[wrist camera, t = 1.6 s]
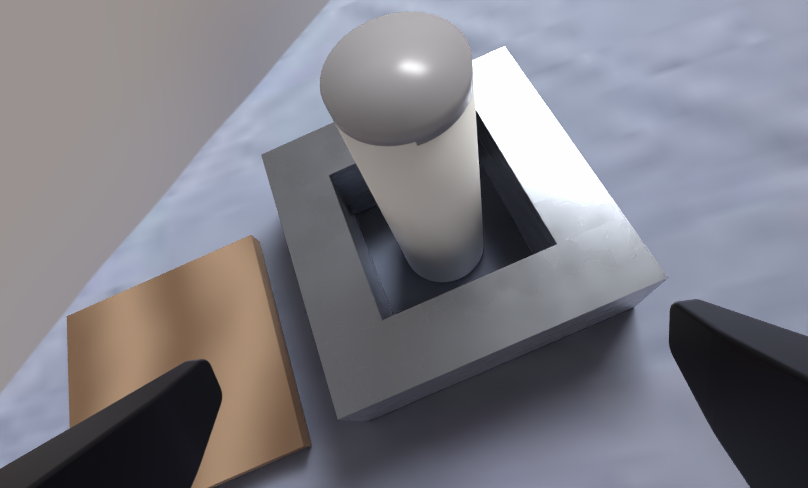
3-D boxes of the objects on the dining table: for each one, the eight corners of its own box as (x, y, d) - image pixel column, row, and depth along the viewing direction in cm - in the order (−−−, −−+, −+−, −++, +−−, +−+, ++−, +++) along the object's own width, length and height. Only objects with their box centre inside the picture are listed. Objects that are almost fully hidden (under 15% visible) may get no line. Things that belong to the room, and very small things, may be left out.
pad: (90, 540, 22) (73, 545, 21) (81, 320, 27) (66, 316, 26) (311, 445, 21) (303, 446, 20) (259, 241, 26) (251, 234, 26)
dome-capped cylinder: (421, 295, 23) (345, 157, 11) (393, 227, 25) (302, 50, 13) (497, 262, 23) (499, 89, 11) (463, 196, 25) (434, -10, 13)
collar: (367, 421, 21) (337, 419, 17) (296, 195, 27) (261, 154, 23) (634, 306, 21) (668, 277, 17) (503, 104, 27) (504, 46, 23)
